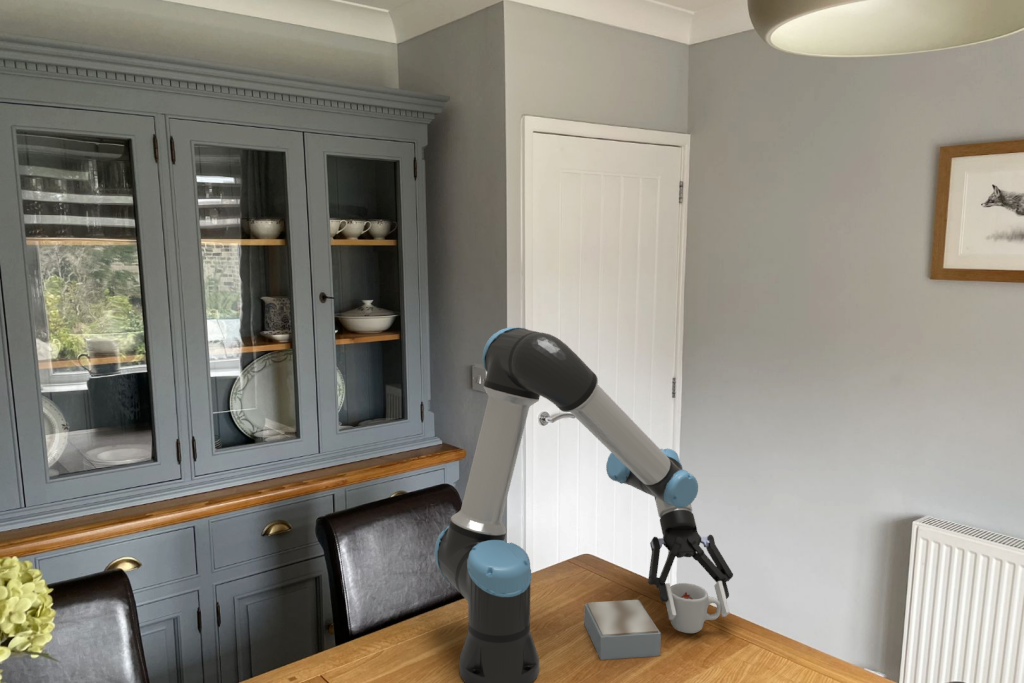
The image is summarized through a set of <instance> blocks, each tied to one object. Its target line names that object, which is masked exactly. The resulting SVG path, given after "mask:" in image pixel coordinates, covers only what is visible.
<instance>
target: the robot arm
mask: <svg viewBox="0 0 1024 683" xmlns="http://www.w3.org/2000/svg"><path fill="white" fill-rule="evenodd" d="M481 357H482V358H481V359H482V365H483V368H484V370H485V372H486V375H485V379H484V381H483V382H484V384H483V389H484V390H485V393H486V395H487V397H488V398H487V401H486V402H487V403H486V406H485V410H484V415H483V418H482V423H481V426H480V431H479V435H478V439H477V443H476V447H475V450H474V455H473V459H472V463H471V467H470V471H469V475H468V479H467V482H466V487H465V490H464V495H463V500H462V504H461V508H460V510H459V511H458V512H456V513H454V514H453V515H452V516H451V518H450V520H449V521H450V522H449V525H447V526H446V528H445V529H444V530H442V531H441V532H440V533H439V535H438V537H437V539H436V542H435V545H434V550H433V551H434V552H433V553H434V560H435V564H436V566H437V568H438V570H439V571H440V573H441V575H442V576H443V577H444V579H445V580H446V581H447V582H448V583H450V584H451V585H452V586H453V587H454V588H455V589H456V590H457V592H458V593H459V594H461V596H462V597H463V598H464V599H466V601H467V608H468V610H467V612H468V613H467V614H468V616H467V618H468V619H467V620H468V625H467V626H468V627H467V629H468V631H467V634H466V637H465V640H464V642H463V646H462V649H461V652H460V654H459V661H458V665H459V666H458V669H459V670H458V671H459V675H460V678H461V679H462V681H463V682H465V683H533V682H535V680H536V679H537V677H538V676H539V673H540V658H539V654H538V651H537V648H536V645H535V642H534V639H533V635H532V633H531V589H532V588H531V586H532V585H531V583H532V568H531V562H530V561H531V560H530V557H529V555H528V553H527V552H526V550H524V549H523V547H521V546H520V545H517V543H514V542H507V540H505V538H506V535H507V528H506V527H505V525H504V523H503V516H504V511H505V507H506V503H507V499H508V494H509V491H510V487H511V482H512V478H513V475H514V471H515V466H516V463H517V459H518V455H519V451H520V446H521V444H522V438H523V435H524V431H525V426H526V424H527V423H526V421H527V418H528V414H529V411H530V408H531V406H534V404H536V403H537V402H539V401H540V397H542V398H544V399H546V400H547V401H550V402H551V403H552V404H554V405H555V406H556V408H558V409H559V410H560V411H561V412H563V413H571V415H573V416H574V417H575V418H576V420H578V422H580V423H581V424H582V426H584V427H585V428H586V429H587V430H588V431H589V432H590V433H591V434H592V435H593V436H594V437H595V438H596V439H597V440H598V441H599V442H600V443H601V444H602V445H603V446H604V447H606V448H607V449H608V451H609V452H610V453H609V456H608V458H607V461H606V468H605V469H606V474H607V476H608V478H609V479H610V480H611V481H614V482H618V483H619V484H623V485H628V486H631V487H632V488H635V489H637V490H638V491H641V492H643V493H645V494H648V495H650V496H652V497H654V501H655V504H656V509H657V514H658V517H659V524H660V528H661V533H662V538H660V537H659V538H658V536H653V537H652V539H651V541H650V543H649V544H650V548H651V554H650V557H651V558H650V562H649V563H650V564H649V572H648V580H647V583H648V584H649V585H650V586H651V585H652V586H653V585H654V586H655V587H656V589H658V594H659V599H660V600H661V603H665V606H666V610H667V617H668V620H669V621H671V619H674V617H675V616H676V611H675V606H674V601H673V597H672V592H671V588H670V587H671V584H670V583H666V581H667V579H668V577H669V573H670V571H671V568H672V566H673V564H674V561H675V558H679V559H682V558H684V557H685V558H692V559H693V560H695V561H697V562H698V563H699V565H700V566H701V567H702V568H703V569H704V570H705V571H706V572H707V574H708V575H710V577H711V578H712V580H714V581H715V582H716V583H715V584H714V590H715V595H716V599H718V600H719V602H720V604H721V613H720V615H721V617H722V618H724V617H727V616H728V615H729V614H730V608H729V604H728V598H730V593H729V589H728V585H727V582H729V581H730V580H731V579H732V578H733V577H734V573H733V572H732V570H731V568H730V567H729V565H728V564H727V562H726V560H725V558H724V557H723V555H722V553H721V551H720V550H719V549H718V547H717V545H716V542H715V541H716V540H715V537H714V535H712V534H708V535H707V536H701V535H700V534H699V532H698V527H697V523H696V519H695V515H694V513H693V508H692V503H693V502H694V501H695V499H696V498H697V495H698V492H699V483H698V480H697V478H696V476H694V475H693V474H692V473H691V472H689V471H687V470H685V469H683V466H682V462H681V461H680V458H679V455H678V453H677V452H676V451H675V450H673V449H671V448H665V449H663V448H660V447H659V446H658V445H656V443H655V442H654V441H653V440H652V439H651V438H650V437H649V436H648V435H647V434H646V433H645V431H643V430H642V429H641V428H640V426H639V425H637V424H636V423H635V422H634V420H632V419H631V417H630V416H629V415H628V414H627V413H626V412H625V411H624V410H623V409H622V408H621V407H620V406H619V405H618V404H617V403H616V402H615V401H614V400H613V399H612V398H611V397H610V396H609V395H608V393H607V392H605V390H604V389H603V388H602V387H601V386H600V385H599V377H598V376H597V375H596V374H595V372H594V370H592V369H591V368H590V367H589V366H588V365H587V364H586V363H585V362H584V361H583V359H581V358H580V357H579V356H578V355H577V353H575V351H573V350H572V349H571V348H570V347H569V346H568V345H567V344H566V343H565V342H563V340H561V339H559V337H556V336H555V335H552V334H550V333H545V332H539V331H537V330H536V331H535V330H531V329H528V328H525V327H518V326H517V327H506V328H502V329H500V330H498V331H497V332H495V333H493V334H492V335H491V336H490V337H489V339H488V340H487V341H486V343H485V344H484V348H483V350H482V356H481ZM700 544H702V545H703V547H704V548H706V551H707V553H708V554H709V556H710V558H711V559H712V560H711V559H710V558H709V556H708V555H707V554H706V553H705V551H704V549H703V548H702V547H701V546H700ZM663 546H664V547H665V548H666V549H667V550H668V551H669V552H668V554H667V557H666V560H665V562H664V566H663V568H662V570H661V573H660V575H659V577H658V570H659V561H660V553H661V548H662V547H663Z"/></svg>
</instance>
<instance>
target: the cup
mask: <svg viewBox="0 0 1024 683" xmlns="http://www.w3.org/2000/svg"><path fill="white" fill-rule="evenodd" d="M670 588H671V592H672V597H673V601H674V606H675V611H676V616H675V617H674V619H671V620H670V624H671V626H672V627H673V629H675V630H677V631H678V632H681V633H685V634H695V633H698V632H700V631H701V630H702V629H703V627H704V623H705V622H706V621H715V620H717V619H718V618H719V617H720V615H721V604H720V602H719V600H718V599H717V597H716V598H715V597H713V596H709V593H708V591H707V590H706V589H705V588H703V587H702V586H699V585H696V584H693V583H686V582H683V583H681V582H680V583H675V584H672V585H670ZM711 604H715V605H716V610H715V612H714V613H712V614H711V613H708V608H709V606H710V605H711Z"/></svg>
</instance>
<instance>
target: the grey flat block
mask: <svg viewBox="0 0 1024 683" xmlns="http://www.w3.org/2000/svg"><path fill="white" fill-rule="evenodd" d="M583 615H584V616H583V617H584V618H583V619H584V620H583V622H584V627H585V628H586V631H587V634H588V636H589V638H590V641H592V645H593V646H594V649H595V651H596V653H597V655H598V657H599V660H600V661H604V660H605V661H606V660H618V659H621V660H622V659H632V658H635V659H636V658H646V657H647V658H648V657H659V656H661V643H662V642H661V640H662V639H661V638H662V633H661V631H660V630H659V629H658V628H659V627H657V626H656V624H655V622H654V621H653V620H652V617H651V616H650V615H649V613H648V611H647V610H646V608H645V607H644V605H643V604H642V602H641V601H640V600H639V599H626V600H624V599H623V600H612V601H611V600H609V601H607V600H606V601H594V602H593V601H591V602H587V603H584V614H583Z"/></svg>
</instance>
